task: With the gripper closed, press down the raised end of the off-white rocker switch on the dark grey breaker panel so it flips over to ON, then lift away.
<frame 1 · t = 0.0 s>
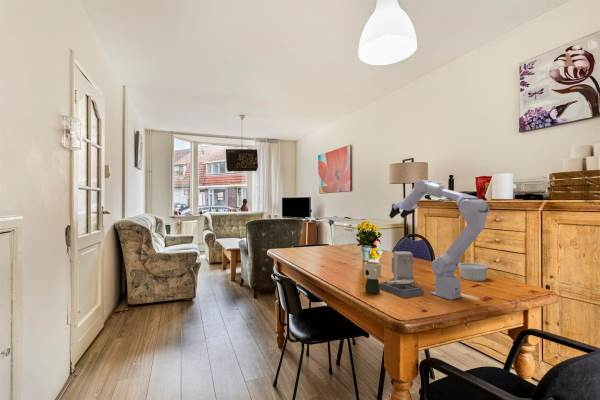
hand: (396, 216, 152), 32 cm above the table, tool tilted 50°, fingers open, 7 cm apart
breaker panel: (400, 291, 133), on the table
ramekin: (473, 279, 154), on the table
character mug: (372, 293, 131), on the table
circuit breaker: (401, 282, 149), on the table
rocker: (400, 282, 133), point 4 cm above the table, hinge at 15.0°
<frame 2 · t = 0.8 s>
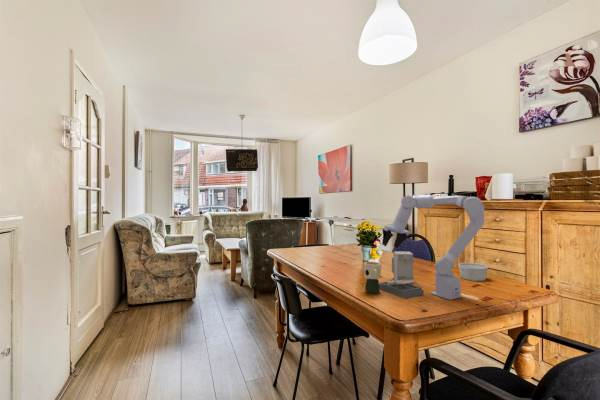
hand: (389, 246, 140), 19 cm above the table, tool tilted 25°, fingers open, 7 cm apart
nothing on the table moved.
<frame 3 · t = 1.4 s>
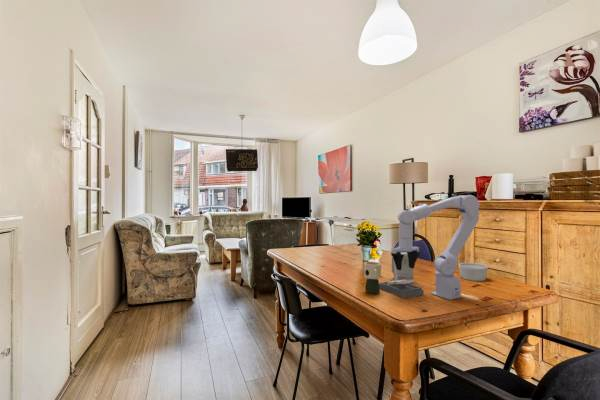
hand: (405, 268, 130), 11 cm above the table, tool pointing down, fingers open, 7 cm apart
nothing on the table moved.
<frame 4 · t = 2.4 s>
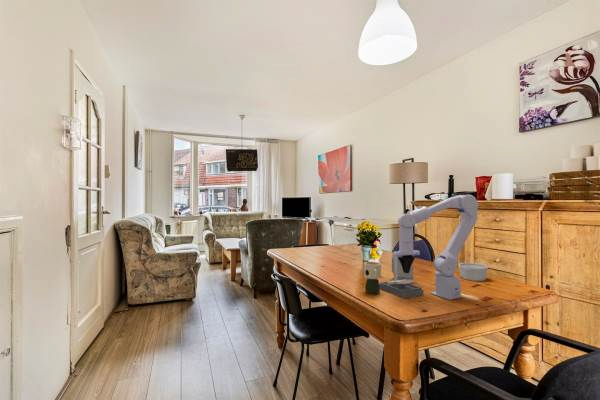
hand: (406, 272, 129), 9 cm above the table, tool pointing down, fingers closed
nothing on the table moved.
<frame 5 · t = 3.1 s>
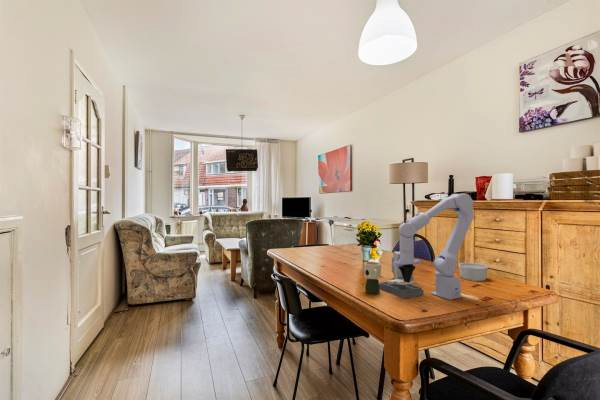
hand: (406, 282, 129), 5 cm above the table, tool pointing down, fingers closed, pressing on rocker
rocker: (400, 282, 133), point 4 cm above the table, hinge at 9.5°, touching gripper
everything else where it was.
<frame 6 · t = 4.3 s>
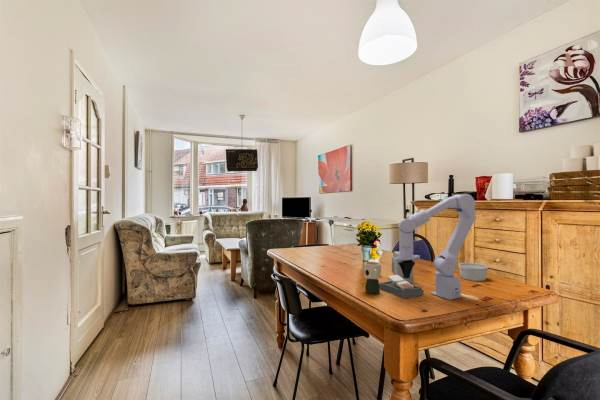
hand: (406, 277, 129), 7 cm above the table, tool pointing down, fingers closed
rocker: (400, 282, 133), point 4 cm above the table, hinge at -17.0°
everything else where it was.
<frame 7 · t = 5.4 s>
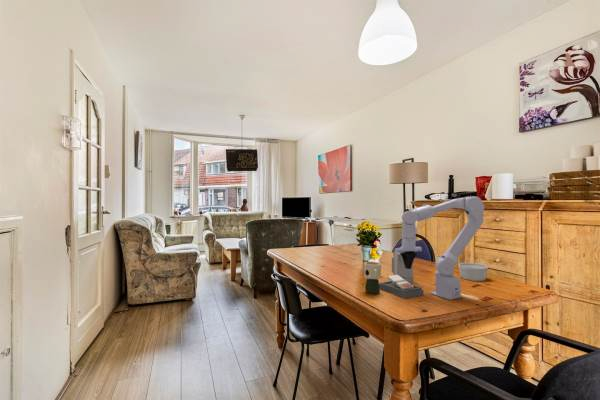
hand: (408, 268, 132), 10 cm above the table, tool pointing down, fingers closed
nothing on the table moved.
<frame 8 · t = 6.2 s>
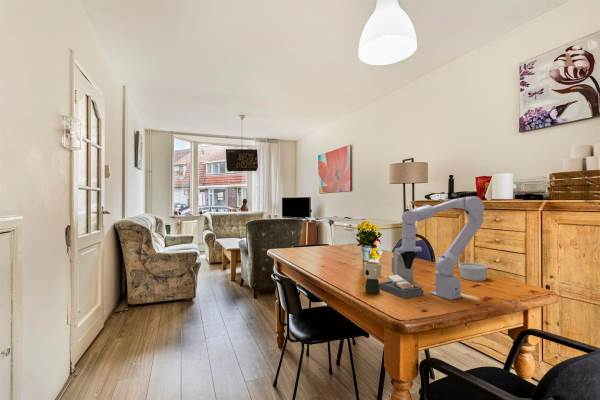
hand: (408, 268, 132), 10 cm above the table, tool pointing down, fingers closed
nothing on the table moved.
at the end: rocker at -17° (first picture: +15°); circuit breaker moved 0.2 cm from its start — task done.
